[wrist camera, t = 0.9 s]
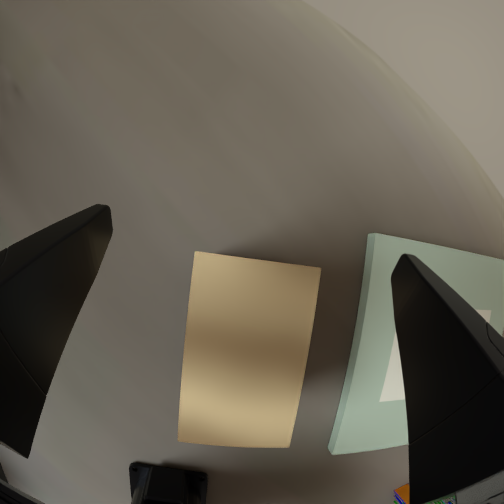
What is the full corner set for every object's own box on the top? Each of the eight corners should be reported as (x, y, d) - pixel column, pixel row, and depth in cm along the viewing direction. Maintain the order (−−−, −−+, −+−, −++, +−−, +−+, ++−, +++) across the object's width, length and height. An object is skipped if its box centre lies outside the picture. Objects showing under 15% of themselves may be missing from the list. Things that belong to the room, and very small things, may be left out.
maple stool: (267, 397, 22) (289, 447, 15) (185, 390, 21) (177, 441, 14) (287, 263, 22) (321, 267, 15) (200, 252, 21) (194, 251, 14)
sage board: (469, 422, 25) (475, 426, 24) (327, 447, 22) (332, 454, 21) (504, 261, 25) (512, 262, 24) (367, 233, 23) (375, 232, 22)
